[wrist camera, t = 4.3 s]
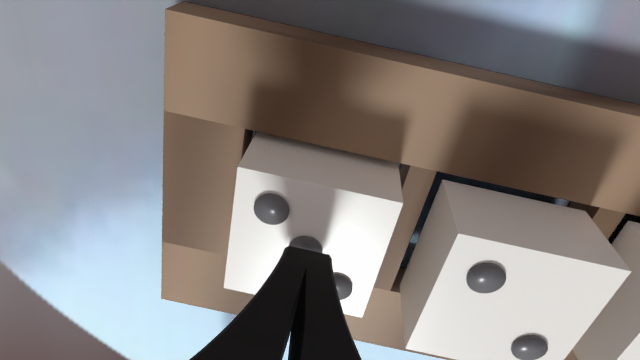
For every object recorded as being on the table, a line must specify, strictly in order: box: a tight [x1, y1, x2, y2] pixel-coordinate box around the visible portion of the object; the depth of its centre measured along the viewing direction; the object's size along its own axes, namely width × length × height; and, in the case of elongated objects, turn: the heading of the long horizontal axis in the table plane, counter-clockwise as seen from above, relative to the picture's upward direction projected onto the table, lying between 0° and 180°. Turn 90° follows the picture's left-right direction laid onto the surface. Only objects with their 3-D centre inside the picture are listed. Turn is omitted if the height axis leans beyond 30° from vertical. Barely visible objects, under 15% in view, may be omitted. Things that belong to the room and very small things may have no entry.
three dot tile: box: [224, 131, 403, 318], centre depth 15 cm, size 5×5×3 cm
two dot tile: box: [400, 179, 632, 360], centre depth 15 cm, size 5×5×3 cm
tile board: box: [161, 1, 640, 360], centre depth 17 cm, size 24×12×2 cm, turn 79°
